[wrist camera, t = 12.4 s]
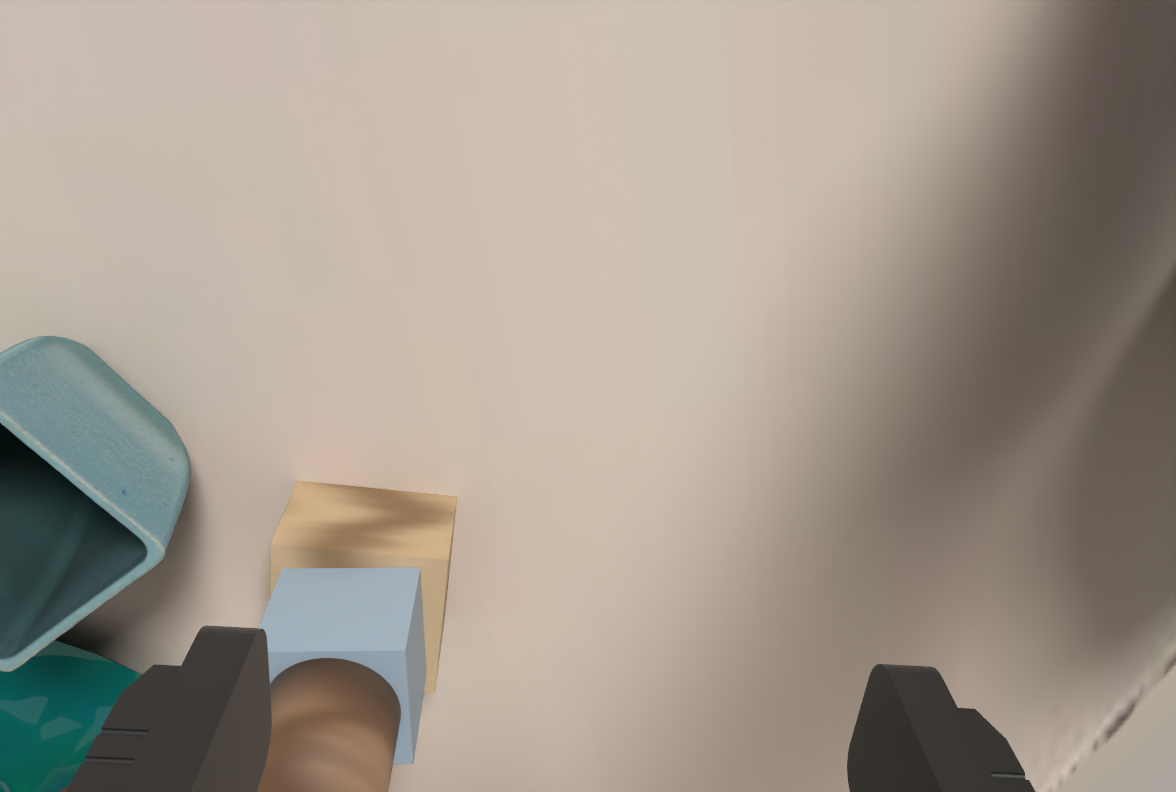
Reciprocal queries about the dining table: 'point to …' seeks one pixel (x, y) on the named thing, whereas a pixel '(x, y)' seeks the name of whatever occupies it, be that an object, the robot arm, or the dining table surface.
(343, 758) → the brown rounded cylinder
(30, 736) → the sailing ship model
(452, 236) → the dining table surface
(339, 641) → the mid block
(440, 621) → the base block
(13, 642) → the flower pot
